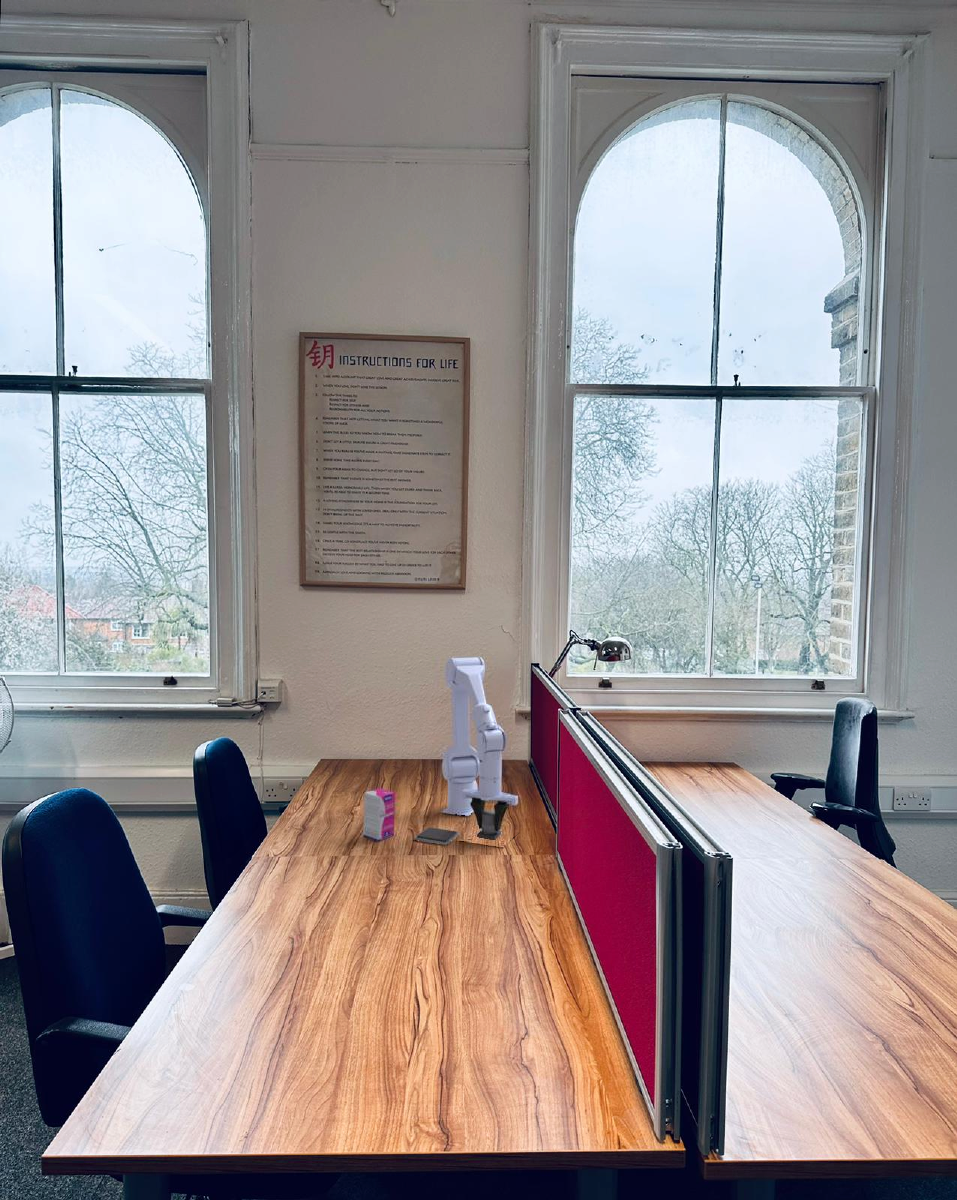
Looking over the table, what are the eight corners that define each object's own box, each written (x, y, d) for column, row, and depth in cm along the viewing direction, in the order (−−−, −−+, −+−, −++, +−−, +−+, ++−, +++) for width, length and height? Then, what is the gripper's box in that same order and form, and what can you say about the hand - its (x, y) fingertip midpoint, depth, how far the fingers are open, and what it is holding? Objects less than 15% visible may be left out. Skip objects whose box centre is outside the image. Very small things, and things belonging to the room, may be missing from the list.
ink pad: (427, 830, 196) (427, 826, 196) (459, 835, 193) (459, 831, 193) (414, 840, 189) (414, 836, 188) (446, 845, 185) (446, 841, 185)
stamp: (483, 831, 195) (483, 808, 194) (501, 834, 193) (501, 811, 193) (476, 838, 190) (476, 814, 190) (495, 840, 188) (495, 817, 188)
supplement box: (379, 842, 187) (379, 797, 187) (362, 836, 191) (362, 792, 190) (395, 835, 192) (395, 791, 191) (378, 830, 195) (379, 787, 195)
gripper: (457, 777, 190) (457, 829, 191) (511, 783, 185) (511, 838, 185) (468, 770, 197) (468, 821, 197) (521, 776, 191) (520, 829, 192)
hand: (489, 829), depth 192 cm, fingers closed on stamp, 4 cm apart
